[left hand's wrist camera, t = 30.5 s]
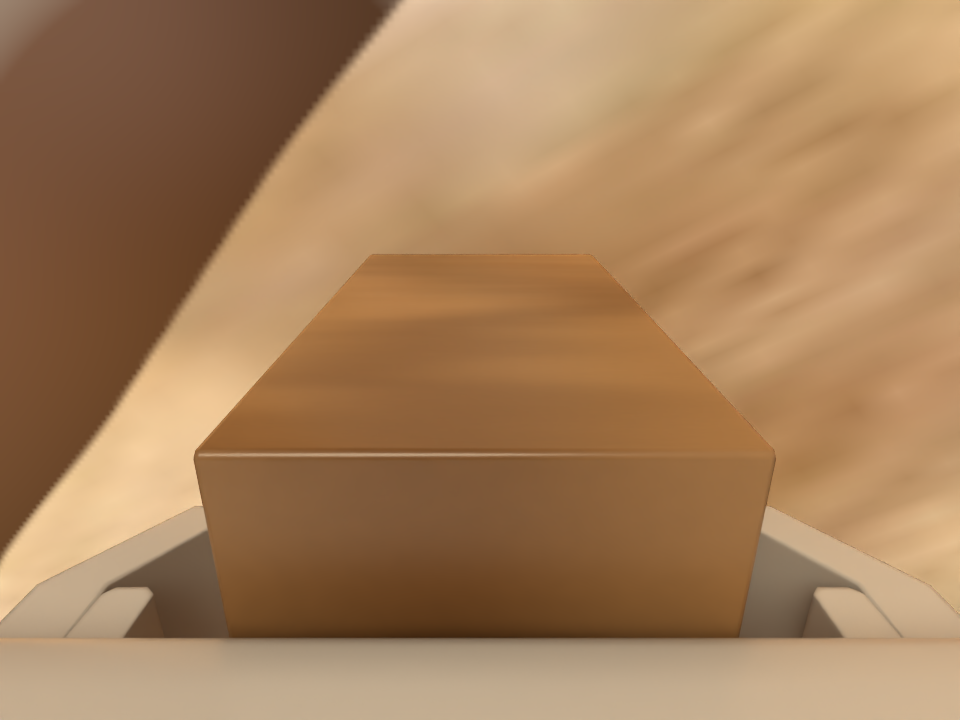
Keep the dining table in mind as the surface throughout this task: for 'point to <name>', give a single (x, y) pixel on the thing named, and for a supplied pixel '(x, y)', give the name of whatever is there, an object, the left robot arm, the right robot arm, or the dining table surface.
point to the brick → (483, 466)
